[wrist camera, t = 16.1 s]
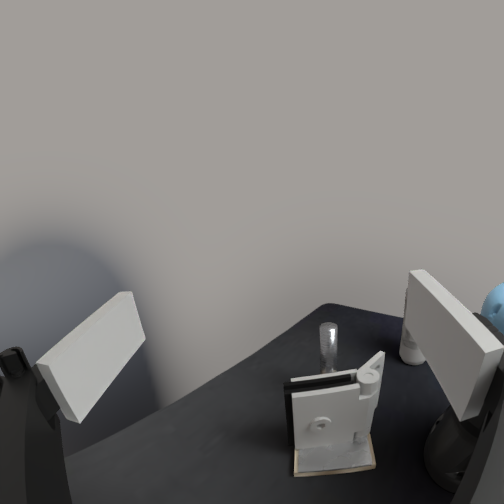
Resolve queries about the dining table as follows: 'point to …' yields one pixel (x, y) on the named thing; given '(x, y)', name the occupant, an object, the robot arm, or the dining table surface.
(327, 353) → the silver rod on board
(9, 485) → the robot arm
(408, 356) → the energy drink can
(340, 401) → the hinge
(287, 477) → the dining table surface
